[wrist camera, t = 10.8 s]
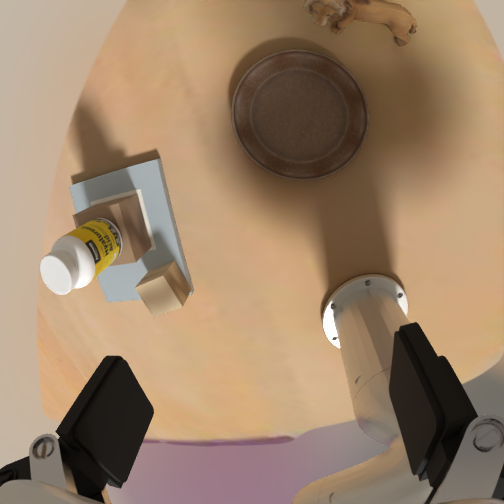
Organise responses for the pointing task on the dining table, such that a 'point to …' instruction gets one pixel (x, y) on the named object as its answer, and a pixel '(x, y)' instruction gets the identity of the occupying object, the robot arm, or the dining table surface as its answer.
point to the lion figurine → (363, 15)
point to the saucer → (299, 115)
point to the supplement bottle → (81, 256)
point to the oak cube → (164, 289)
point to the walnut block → (122, 225)
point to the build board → (156, 219)
